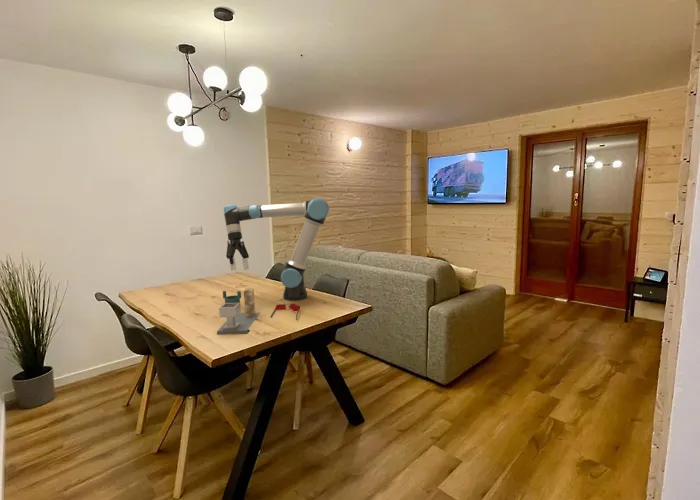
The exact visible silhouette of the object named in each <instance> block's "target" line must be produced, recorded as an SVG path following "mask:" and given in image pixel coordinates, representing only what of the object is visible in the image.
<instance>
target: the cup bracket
mask: <svg viewBox="0 0 700 500" xmlns="http://www.w3.org/2000/svg"><path fill="white" fill-rule="evenodd" d="M218 311H219V313H218V314H219V318H226V321H227V324H226V325H225V326H224V327H223V329H236V328H237V327H238V326H239V324H240V323H235V317H237V316H238V314H239V313H242V311H241V302H240V303H225V302H224V303H223V304H222V305H220V306H219V308H218Z"/></svg>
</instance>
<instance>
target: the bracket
mask: <svg viewBox="0 0 700 500" xmlns="http://www.w3.org/2000/svg"><path fill="white" fill-rule="evenodd" d="M236 294H237V295H236ZM236 294H234V295H227V291H226V290H222V298H223V299H224V303H240V304H241V300H240V299H241V298H242V293H241V290H237V292H236Z"/></svg>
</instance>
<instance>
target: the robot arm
mask: <svg viewBox="0 0 700 500" xmlns="http://www.w3.org/2000/svg"><path fill="white" fill-rule="evenodd" d="M329 211H330V206H329V204H328V202H327V201H326V200H325V199H324V198H321V197H317V198H316V197H315V198H313V199H309V200H305V201H304V202H292V203H277V204H275V203H274V204H261V205H259V204H258V205H257V204H253V205H248V206H243V207H238V206H237V205H236V204H228V205H225V206H223V216H224V220H225V225H226V232H227V239H228V240H227V246H226V255H225V256H226V259H227V260H228V259H229V265H230V270H231V271H237V265H236V258H235V253H236V250H237V251H238V252H239V254H240V256H241V258H242V259H241V260H242V264H243V265H242V266H243V270H246V271H247V270H249V269H250V267H249V263H248V259H249V258H250V255H249V253H248V251H247V248H246V246H245V242H244V240H242V241H241V239H243V233H242V227H241V223H240V222H243V221H249V220H256V219H263V218H278V217H294V216H295V217H296V216H298V217H299V216H304V217H303V219H304V220H305V222H304V223H303V226H302V228H301V232H300V234H299V237H298V239H297V242H296V245H295V247H294V250H293V252H292V255H291V258H290V259H289V260H286V261H285V262H284V263H283V271H282V272H281V273H280V274H281V275H280V282H281V283H282V285H283V286H284V290H283V294H282V298H283V300H285V301H292V302H293V301H301V300H305V299H307V298H308V291H307V289H306V287H305V271H306V268H307V267H306V265H305V263H306V262H307V259H308V257H309V255H310V254H309V253H310V252H311V250H312V247H313V244H314V241H315V239H316V237H317V234H318V232H319V229H320V227H321V226H323V225H324V223H325V222H326V218H327V216H328V214H329Z"/></svg>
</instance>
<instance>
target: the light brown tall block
mask: <svg viewBox="0 0 700 500" xmlns="http://www.w3.org/2000/svg"><path fill="white" fill-rule="evenodd" d="M243 300H244V313H245V315H246V317H254V316H255V313H256V307H255V291H254V288H245V289H244V290H243Z"/></svg>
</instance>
